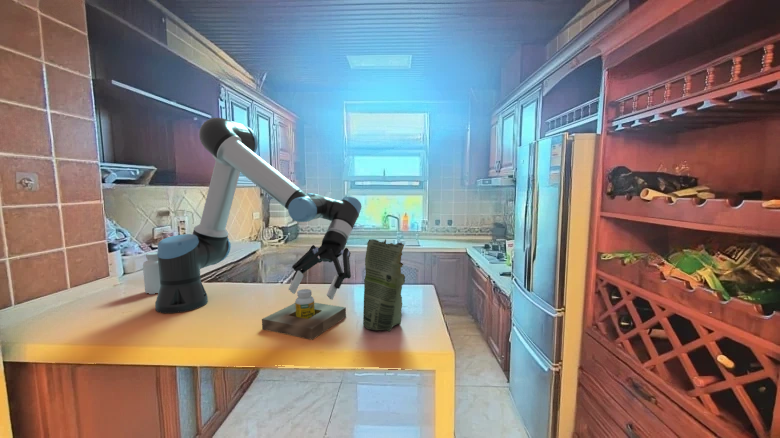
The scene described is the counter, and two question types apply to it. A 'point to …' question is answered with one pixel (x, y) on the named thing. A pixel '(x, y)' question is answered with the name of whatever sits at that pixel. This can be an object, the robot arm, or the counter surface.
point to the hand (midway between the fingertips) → (309, 294)
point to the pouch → (383, 285)
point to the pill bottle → (151, 273)
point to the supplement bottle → (305, 304)
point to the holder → (304, 321)
